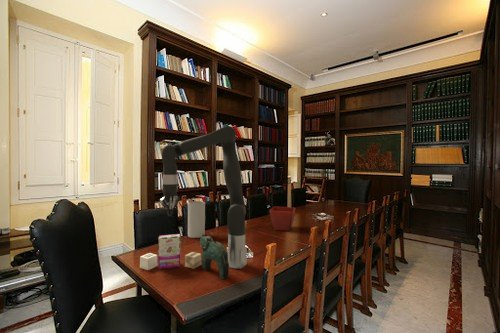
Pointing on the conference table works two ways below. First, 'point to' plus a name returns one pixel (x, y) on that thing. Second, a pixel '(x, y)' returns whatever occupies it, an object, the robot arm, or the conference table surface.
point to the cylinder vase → (196, 219)
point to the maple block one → (192, 260)
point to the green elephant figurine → (214, 255)
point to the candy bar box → (169, 251)
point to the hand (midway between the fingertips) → (169, 215)
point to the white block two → (148, 261)
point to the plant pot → (282, 217)
